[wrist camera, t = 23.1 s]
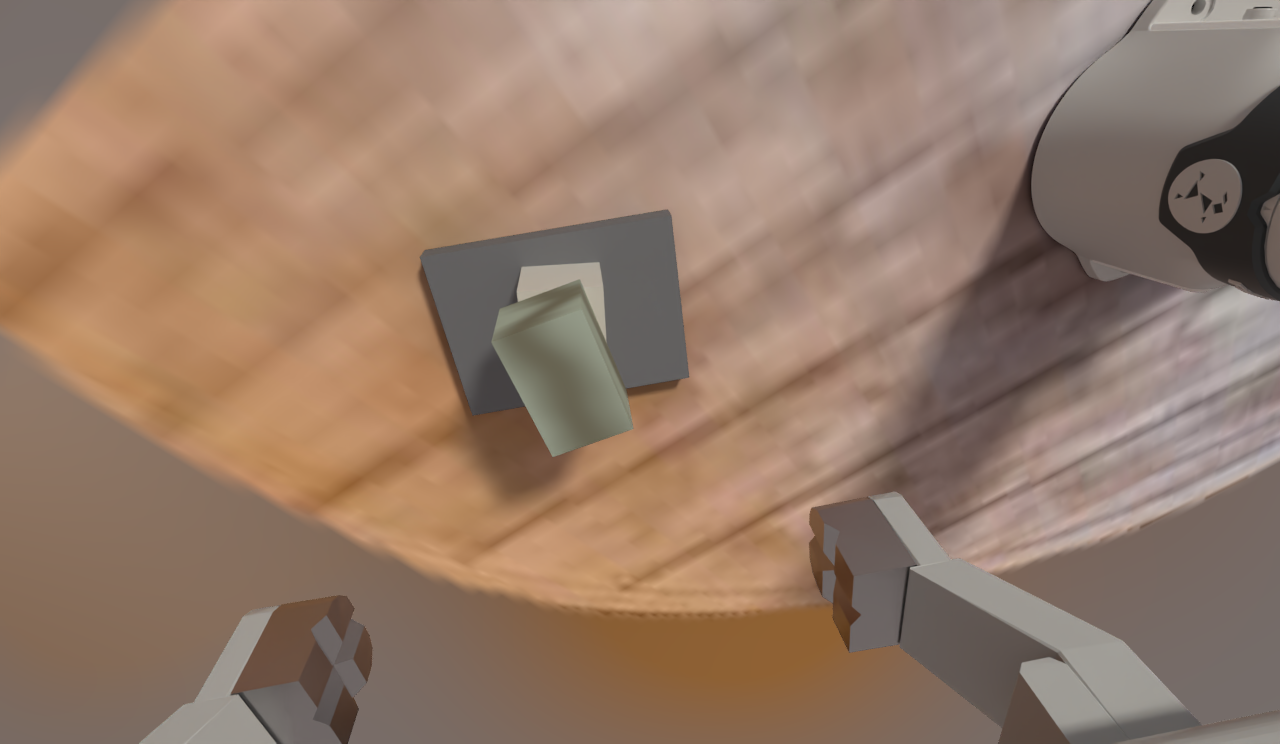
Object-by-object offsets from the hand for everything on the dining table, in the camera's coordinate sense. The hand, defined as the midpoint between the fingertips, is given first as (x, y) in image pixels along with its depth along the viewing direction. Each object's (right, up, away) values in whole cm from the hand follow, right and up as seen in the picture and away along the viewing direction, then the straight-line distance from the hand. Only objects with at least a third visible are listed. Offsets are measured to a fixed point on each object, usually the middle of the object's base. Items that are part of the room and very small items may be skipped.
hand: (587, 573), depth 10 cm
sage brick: (-4, +5, +26) cm, 26 cm away
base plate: (-4, +8, +31) cm, 32 cm away
